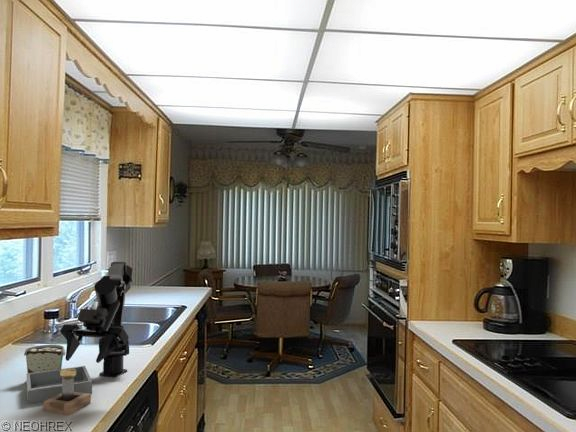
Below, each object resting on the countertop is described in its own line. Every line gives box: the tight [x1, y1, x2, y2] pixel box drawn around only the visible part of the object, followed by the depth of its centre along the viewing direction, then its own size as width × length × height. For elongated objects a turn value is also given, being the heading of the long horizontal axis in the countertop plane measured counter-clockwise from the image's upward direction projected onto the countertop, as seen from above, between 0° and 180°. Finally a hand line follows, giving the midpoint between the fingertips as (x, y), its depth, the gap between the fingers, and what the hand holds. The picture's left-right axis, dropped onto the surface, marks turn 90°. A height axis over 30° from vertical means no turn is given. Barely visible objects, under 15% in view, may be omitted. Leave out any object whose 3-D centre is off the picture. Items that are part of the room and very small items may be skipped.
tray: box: [25, 365, 93, 405], centre depth 137 cm, size 16×16×5 cm
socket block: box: [42, 392, 92, 416], centre depth 124 cm, size 8×8×4 cm
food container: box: [23, 344, 66, 374], centre depth 151 cm, size 12×6×10 cm, turn 92°
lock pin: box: [60, 367, 76, 402], centre depth 124 cm, size 4×4×10 cm
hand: (81, 361), depth 130 cm, fingers open, 9 cm apart
